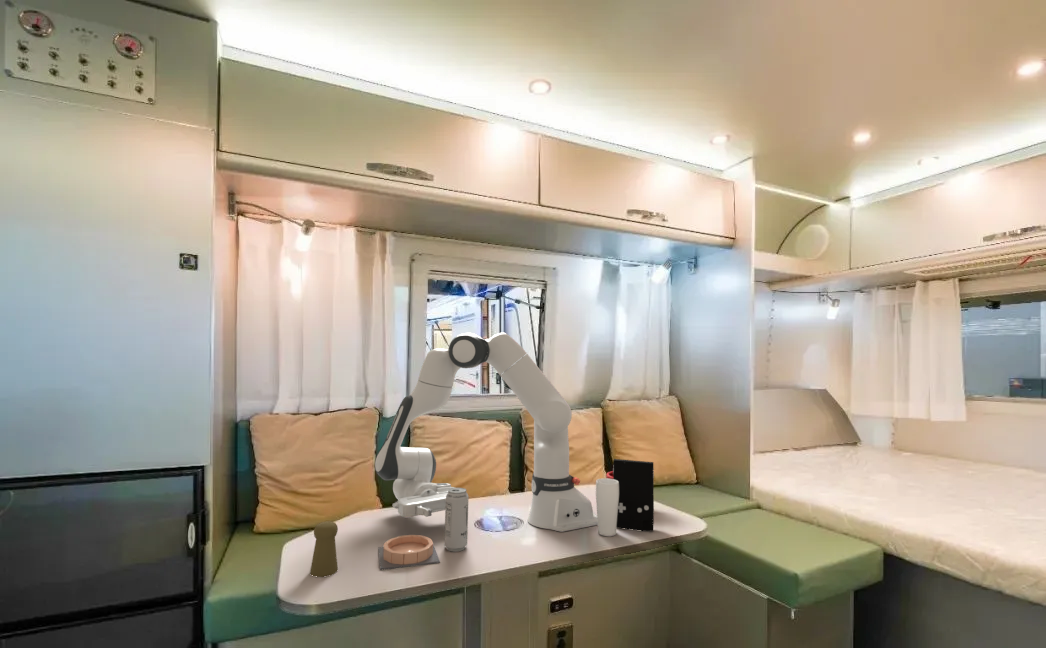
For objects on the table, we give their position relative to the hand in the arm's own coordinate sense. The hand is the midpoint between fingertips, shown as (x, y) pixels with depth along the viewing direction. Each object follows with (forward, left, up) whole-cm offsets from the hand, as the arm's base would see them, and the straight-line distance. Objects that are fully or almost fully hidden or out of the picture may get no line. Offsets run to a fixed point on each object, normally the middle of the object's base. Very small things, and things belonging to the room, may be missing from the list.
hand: (444, 510), depth 133 cm
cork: (+30, +12, -8) cm, 33 cm away
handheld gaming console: (-56, +7, -8) cm, 57 cm away
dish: (+10, +8, -8) cm, 15 cm away
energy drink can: (-2, +7, -8) cm, 11 cm away
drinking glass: (-46, +9, -8) cm, 47 cm away
